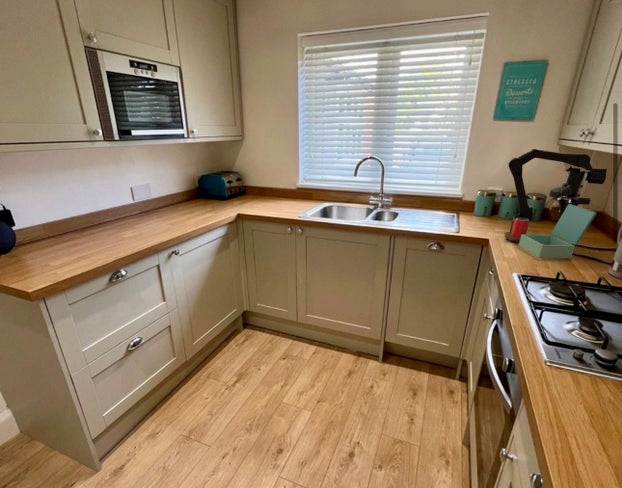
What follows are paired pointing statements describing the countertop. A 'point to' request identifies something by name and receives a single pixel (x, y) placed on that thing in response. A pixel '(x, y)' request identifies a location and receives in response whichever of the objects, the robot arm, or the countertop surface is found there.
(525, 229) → the can
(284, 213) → the countertop surface
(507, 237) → the stool
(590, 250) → the countertop surface
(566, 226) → the lid
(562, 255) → the green hinged box
